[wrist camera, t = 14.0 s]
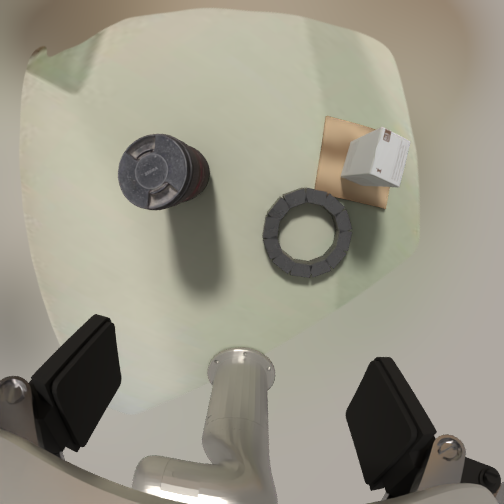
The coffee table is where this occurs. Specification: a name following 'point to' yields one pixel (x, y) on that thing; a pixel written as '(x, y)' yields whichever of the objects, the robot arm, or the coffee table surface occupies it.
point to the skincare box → (376, 159)
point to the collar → (331, 255)
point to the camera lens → (161, 172)
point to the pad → (333, 161)
